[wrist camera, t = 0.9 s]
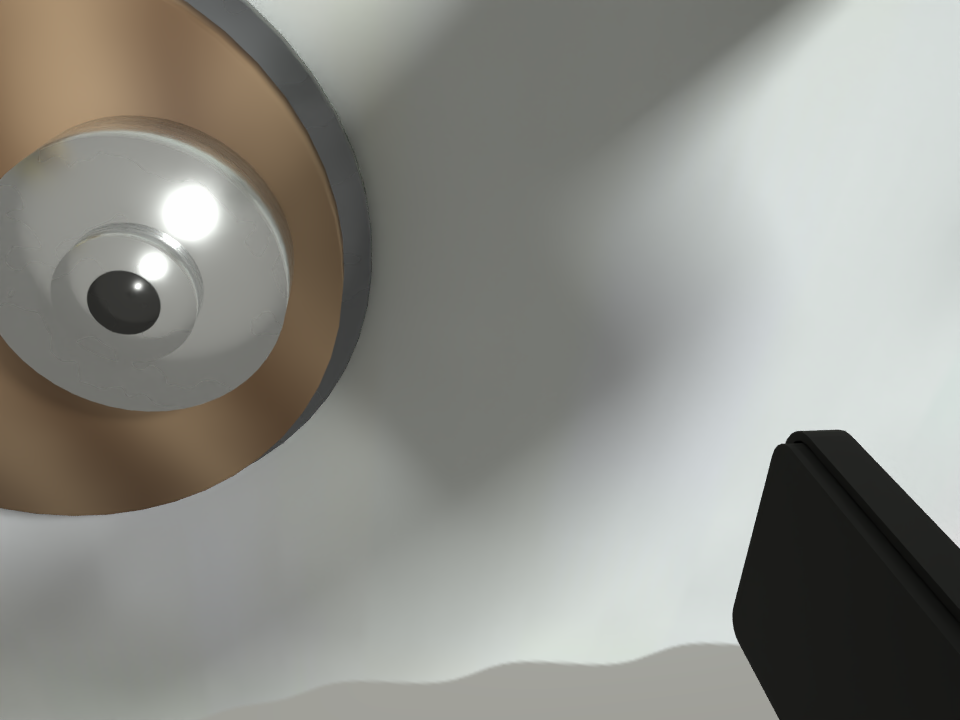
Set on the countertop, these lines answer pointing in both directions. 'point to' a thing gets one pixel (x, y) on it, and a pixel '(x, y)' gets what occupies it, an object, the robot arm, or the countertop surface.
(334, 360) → the turntable base
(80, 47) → the turntable
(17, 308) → the cover
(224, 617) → the countertop surface
